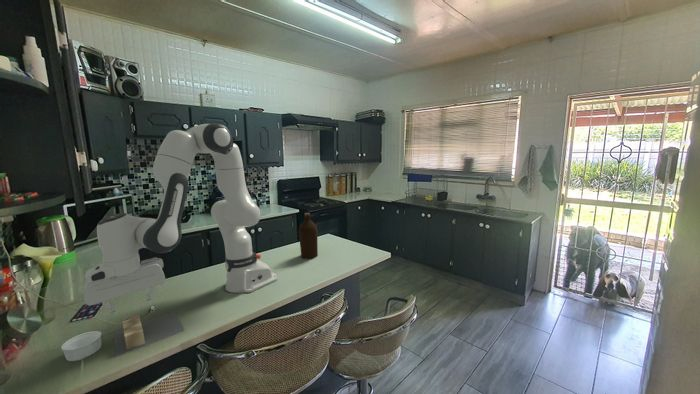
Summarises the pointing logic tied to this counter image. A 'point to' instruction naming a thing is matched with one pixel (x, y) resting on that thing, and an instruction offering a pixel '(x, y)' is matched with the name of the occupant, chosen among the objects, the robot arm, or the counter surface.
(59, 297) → the counter surface
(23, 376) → the counter surface
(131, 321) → the birch block
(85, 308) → the smartphone
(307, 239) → the olive oil
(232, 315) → the counter surface
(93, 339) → the ramekin
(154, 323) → the rubber mat
